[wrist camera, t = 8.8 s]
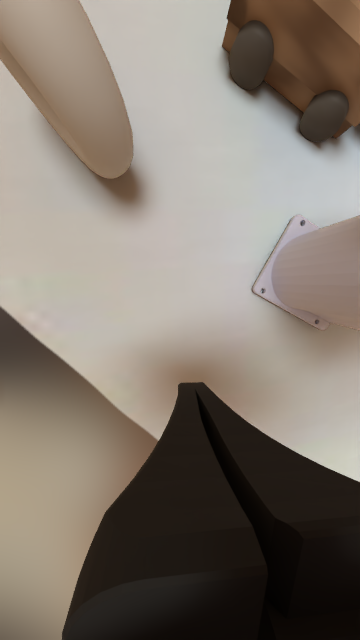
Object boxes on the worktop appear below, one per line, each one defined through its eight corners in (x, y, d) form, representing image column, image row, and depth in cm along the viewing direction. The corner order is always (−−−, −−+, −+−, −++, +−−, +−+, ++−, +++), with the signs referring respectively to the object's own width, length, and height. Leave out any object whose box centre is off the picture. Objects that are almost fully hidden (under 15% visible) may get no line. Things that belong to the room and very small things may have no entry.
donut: (150, 182, 16) (129, 20, 6) (121, 211, 16) (55, 99, 6) (58, 65, 14) (-210, -484, 4) (26, 99, 14) (-300, -334, 4)
